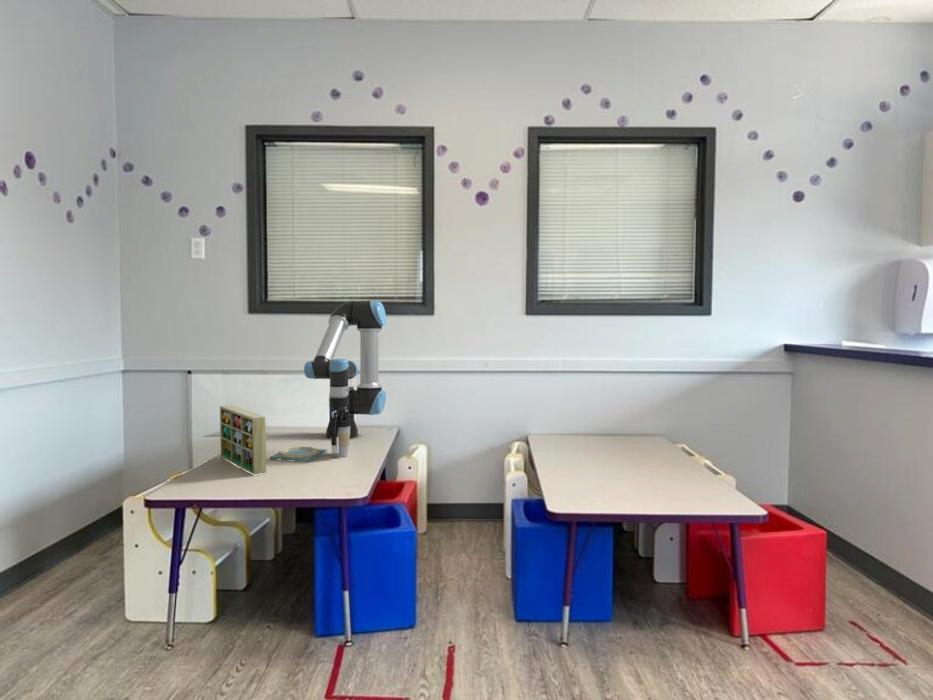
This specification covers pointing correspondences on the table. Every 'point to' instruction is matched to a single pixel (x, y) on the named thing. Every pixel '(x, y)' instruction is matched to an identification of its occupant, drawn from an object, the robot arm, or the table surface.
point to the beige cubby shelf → (243, 438)
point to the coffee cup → (343, 438)
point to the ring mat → (299, 453)
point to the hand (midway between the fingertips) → (340, 450)
